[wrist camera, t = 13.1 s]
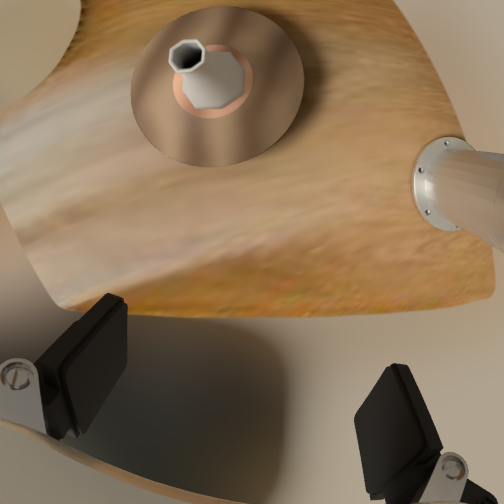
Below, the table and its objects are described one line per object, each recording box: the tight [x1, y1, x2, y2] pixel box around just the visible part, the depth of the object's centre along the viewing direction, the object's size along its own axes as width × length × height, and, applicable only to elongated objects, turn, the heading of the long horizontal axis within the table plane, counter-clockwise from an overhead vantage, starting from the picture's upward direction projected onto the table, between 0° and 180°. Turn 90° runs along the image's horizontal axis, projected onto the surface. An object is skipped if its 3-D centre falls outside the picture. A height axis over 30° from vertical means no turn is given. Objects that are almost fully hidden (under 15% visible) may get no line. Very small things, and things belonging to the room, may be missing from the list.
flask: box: [169, 38, 245, 109], centre depth 24 cm, size 7×7×10 cm
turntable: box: [131, 6, 304, 167], centre depth 29 cm, size 20×20×2 cm
